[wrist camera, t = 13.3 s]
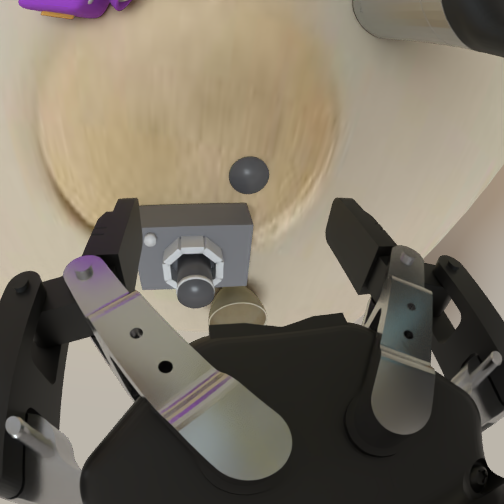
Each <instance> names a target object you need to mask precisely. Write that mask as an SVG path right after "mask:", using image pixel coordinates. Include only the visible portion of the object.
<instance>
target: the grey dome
mask: <svg viewBox="0 0 504 504" xmlns="http://www.w3.org/2000/svg"><path fill="white" fill-rule="evenodd" d="M268 179H269V170H268V168H267V166H266V164H265V163H264V162H263V161H262V160H261V159H259V158H256V157H244V158H241V159H239V160H238V161H236V162H235V163H234V164H233V165H232V167H231V169H230V172H229V180H230V183H231V185H232V187H233V188H234V189H235V190H236V191H238V192H240V193H243V194H252V193H256V192H258V191H260V190H261V189H262V188H263V187H264V186H265V185H266V184H267V182H268Z"/></svg>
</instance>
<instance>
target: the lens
mask: <svg viewBox="0 0 504 504" xmlns="http://www.w3.org/2000/svg"><path fill="white" fill-rule="evenodd" d="M176 293H177V297H178V300H179V302H180V303H181V304H183V305H184V306H186V307H189V308H201V307H204V306H207V305H208V304H210V303H211V302H212V300H213V299H214V294H215V289H214V284H213V280H212V272H211V264H210V259H209V258H208V257H207V256H205V255H204V254H203V253H198V254H182V255H181V256H180V257H179V258H178V262H177V289H176Z"/></svg>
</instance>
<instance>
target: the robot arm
mask: <svg viewBox="0 0 504 504" xmlns="http://www.w3.org/2000/svg"><path fill="white" fill-rule="evenodd" d="M353 8H354V13H355V15H356V17H357V19H358V21H359V23H360V24H361V25H362V26H363V27H364V29H365V30H367V31H368V32H369V33H370V34H372V35H374V36H376V37H379V38H383V39H396V40H408V41H418V42H427V43H435V44H442V45H448V46H454V47H460V48H465V49H470V50H475V51H478V52H483V53H488V54H492V55H496V56H500V57H504V0H353ZM326 240H327V243H328V245H329V246H330V248H331V250H332V251H333V253H334V254H335V256H336V258H337V259H338V261H339V263H340V264H341V266H342V268H343V270H344V271H345V273H346V275H347V276H348V278H349V280H350V281H351V283H352V285H353V287H354V288H355V290H356V292H357V294H358V295H363V294H371V297H370V299H369V301H368V304H367V308H366V311H365V315H364V319H363V322H362V325H358V324H354V323H348V322H347V321H346V319H345V317H344V315H343V313H336V314H329V315H320V316H313V317H310V318H307V319H304V320H301V321H299V322H296V323H293V324H290V325H287V326H284V327H276V326H267V325H259V324H250V323H233V324H217V325H209V336H206V337H202V338H200V339H197V340H195V341H193V342H191V343H189V344H188V343H187V342H186V341H185V340H184V339H183V338H182V337H181V336H180V335H179V334H178V333H177V332H176V331H175V330H174V329H173V328H172V327H171V326H170V325H169V324H168V323H167V321H166V320H165V319H164V318H163V317H162V316H161V315H160V314H159V313H158V312H157V311H156V310H155V309H154V308H153V307H152V306H151V305H150V304H149V302H148V301H147V300H146V299H145V298H144V297H143V296H142V295H141V294H140V293H139V292H138V291H136V290H135V285H136V279H137V273H138V267H139V262H140V256H141V251H142V245H143V235H142V226H141V219H140V210H139V202H138V199H137V198H125V199H118V201H117V203H116V206H115V208H114V210H113V212H106V213H105V214H103V215H102V216H101V217H100V218H99V219H98V221H97V223H96V225H95V227H94V229H93V231H92V234H91V236H90V238H89V240H88V243H87V245H86V247H85V250H84V252H83V255H82V256H81V257H79V258H76V259H74V260H73V261H71V262H70V263H69V264H68V265H67V266H66V268H65V270H64V273H63V276H62V277H59V278H55V279H52V280H48V281H45V282H42V280H41V278H40V276H39V274H38V273H36V272H33V271H26V272H22V273H20V274H18V275H16V276H15V277H14V278H13V279H11V281H10V282H9V283H8V285H7V286H6V289H5V291H4V293H3V295H2V298H1V300H0V498H3V499H5V500H8V501H11V502H15V503H18V504H504V478H502V477H500V476H498V475H496V474H495V473H493V472H492V471H491V470H490V469H489V467H488V466H487V463H486V460H485V457H484V452H483V444H482V434H481V433H482V431H484V430H486V429H487V428H489V427H490V426H492V425H493V424H494V423H496V422H497V421H499V420H500V419H501V418H503V417H504V321H503V320H502V318H501V317H500V315H499V314H498V312H497V311H496V309H495V308H494V306H493V305H492V304H491V302H490V301H489V299H488V298H487V297H486V295H485V294H484V293H483V291H482V290H481V288H480V287H479V286H478V284H477V283H476V282H475V280H474V279H473V278H472V277H471V275H470V274H469V273H468V272H467V270H466V269H465V268H464V267H463V265H462V264H461V263H460V262H458V261H457V260H456V259H454V258H452V257H450V256H446V255H442V256H440V257H439V259H438V261H437V263H436V265H432V264H427V263H424V260H423V258H422V257H421V256H420V254H419V253H417V252H416V251H415V250H413V249H411V248H409V247H406V246H402V245H397V244H396V243H395V242H394V241H393V240H392V238H391V237H390V236H389V235H388V234H387V233H386V231H385V230H383V228H382V227H381V226H380V225H379V224H378V222H377V221H376V220H375V219H374V218H373V217H372V216H371V215H370V214H368V213H367V212H365V211H364V210H363V209H362V208H361V207H360V206H359V205H358V204H357V202H356V201H355V200H354V199H352V198H335V199H334V201H333V204H332V207H331V211H330V215H329V219H328V223H327V227H326ZM451 299H452V300H453V301H454V303H455V304H456V306H457V307H458V309H459V311H460V313H461V322H460V324H459V326H458V327H457V328H456V330H455V329H454V327H453V325H452V324H451V322H450V320H449V319H448V317H447V315H446V314H445V312H444V309H445V308H446V306H447V305H448V303H449V302H450V300H451ZM87 337H90V338H91V340H92V341H93V342H94V344H95V346H96V347H97V349H98V351H99V352H100V353H101V355H102V357H103V358H104V360H105V361H106V363H107V364H108V366H109V367H110V368H111V370H112V371H113V373H114V374H115V376H116V377H117V379H118V380H119V382H120V383H121V385H122V386H123V388H124V389H125V391H126V392H127V394H128V395H129V396H130V397H131V399H132V400H133V401H134V404H133V405H132V406H131V407H130V408H129V410H128V411H127V412H126V413H125V415H123V417H122V418H121V419H120V420H119V421H118V423H117V424H116V425H115V426H114V427H113V429H112V430H111V431H110V432H109V433H108V435H107V436H106V437H105V438H104V440H103V441H102V442H101V443H100V444H99V446H98V447H97V448H96V449H95V450H94V451H93V453H92V454H91V455H90V456H89V457H88V459H87V460H86V462H85V464H84V466H83V468H82V470H81V469H80V468H79V466H78V465H77V463H76V461H75V459H74V453H73V448H72V445H71V443H70V441H69V439H68V438H67V437H66V436H65V435H64V434H63V433H61V431H59V423H60V409H61V408H60V407H61V397H62V387H63V379H64V370H65V364H66V363H65V362H66V357H67V351H68V345H69V342H72V341H76V340H79V339H82V338H87ZM431 350H432V352H433V354H434V355H435V357H436V359H437V361H438V363H439V365H440V367H441V369H442V372H443V374H444V376H445V377H443V376H442V375H441V374H439V373H437V372H436V371H435V370H434V368H432V367H431V364H430V363H431Z"/></svg>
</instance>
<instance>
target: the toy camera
mask: <svg viewBox="0 0 504 504" xmlns="http://www.w3.org/2000/svg"><path fill="white" fill-rule="evenodd" d="M131 1H132V0H19V5H20V6H21V7H23V8H26V9H30V10H36V11H42V12H41V15H45V16H51V17H59V18H67V19H73V18H74V16H77V17H83V18H97V17H100V16H101V15H102V14H103V13H104V12H105V10H106V9H107V7H108V5H109V3H111V4H112V6H113V7H114V8H115V9H116V10H117V11H121V10H123V9H124V8H125V7H126V6H127V5H128V4H129V3H130V2H131Z"/></svg>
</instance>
